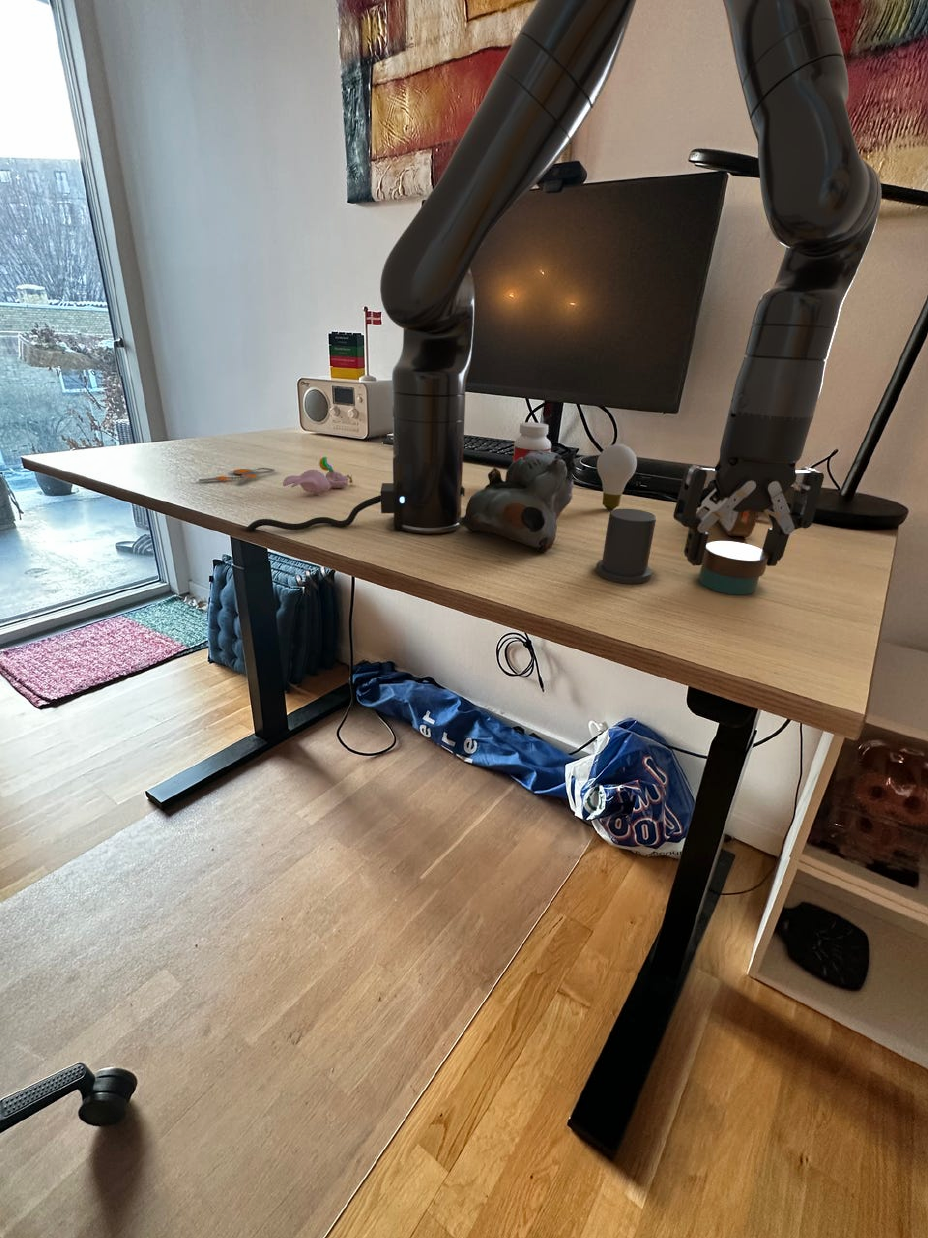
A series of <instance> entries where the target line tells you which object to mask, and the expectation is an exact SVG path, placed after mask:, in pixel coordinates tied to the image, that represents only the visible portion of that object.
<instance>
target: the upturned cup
mask: <svg viewBox="0 0 928 1238" xmlns="http://www.w3.org/2000/svg"><path fill="white" fill-rule="evenodd" d="M656 522H657V515H655V514H654V513H651V512H649V511H646V510H642V509H637V508H614V509H613V510H609V514H608V520H607V526H606V527H607V528H606V534H605V541H604V548H603V554H602V559H600V560H598V562H597V563H596V564H595V573H596V574H597V575H598V576H599V577H601V578H602V579H604V580H607V581H610V582H613V583H617V584H625V585H637V584H644V583H646V582H648V581H650V580H651V578H652V574H653V573H652V568H651V567H650V566H649V565H648V564H649V560H650V554H651V549H652V543H653V538H654V534H655V533H654V532H655V529H656Z"/></svg>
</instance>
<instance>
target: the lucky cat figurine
mask: <svg viewBox="0 0 928 1238" xmlns="http://www.w3.org/2000/svg"><path fill="white" fill-rule="evenodd" d="M575 457H576V451H571V452H568V453H566V454H565V455H560V454H558V452H557V453H556V452H554V451H551V452H550V451H541V450H538V451H530V452H529V453H527V454H525V456H524V457H520V458H519V459H518V460H516V461H514V462H513V461H512V463H511V464H510V465H509V466H508V469H507V470H506V473H505V479H504V480H503V478H502V474H501V470H499V469H498V468H496V467H493V468H492V470H490V472H488V474H487V477H488V478H487V479H488V480H489V483H488V484H487V485H485V487H484V488H482V489H480V490H477V491H476V492H474V493H473V494H472V495H471V496H470V498H469V500H468V501H467V503H466V507H465V514H464V516H461V518H460V519H459V520H458V523H459V524H460V525H461V526H462V527H463V528H466V529H467V531H469V532H473V531H480V532H486V533H493V534H496V535H499V536H502V537H505V538H507V539H510V540H512V541H516V542H517V543H521V544H523V545H525V546H526V545H527V546H530V547H533V548H534V549H536V550H538V551H539V552H541V553H547V552H548V551H549V550H550V549H552V547H553V545H554V542H555V540H556V534H557V529H558V528H557V527H558V525H557V521H558V519H559V517H560V515H561V513H562V512H563V511H564V510H565V509H566V507H567V506H568V505H569V504H570V503H571V501H572V499H573V497H574V496H573V488H574V485H575V484H574V483H575V482H574V480H573V476H574V472H575V469H576V463H575Z"/></svg>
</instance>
